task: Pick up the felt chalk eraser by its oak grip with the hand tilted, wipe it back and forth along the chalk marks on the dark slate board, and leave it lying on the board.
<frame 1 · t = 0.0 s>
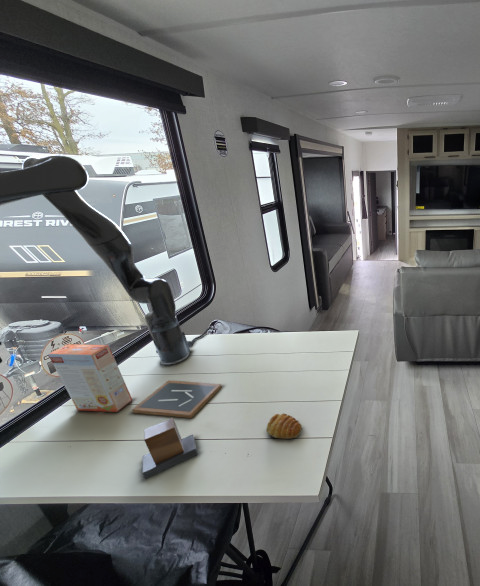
board: (179, 399, 99), on the table
eraser: (171, 457, 79), on the table
cracker box: (106, 405, 98), on the table
pastry: (284, 430, 86), on the table
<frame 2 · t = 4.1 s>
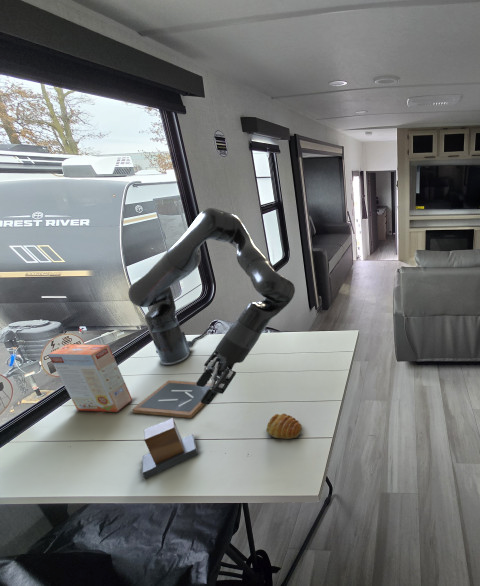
hand: (201, 393, 79), 15 cm above the table, tool tilted 45°, fingers open, 8 cm apart
nothing on the table moved.
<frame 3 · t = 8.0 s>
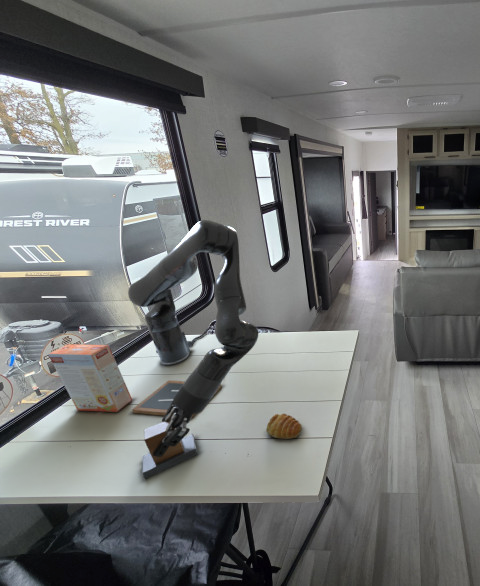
hand: (156, 448, 76), 5 cm above the table, tool tilted 45°, fingers closed on eraser, 4 cm apart
eraser: (171, 457, 79), on the table, touching gripper
everything else where it was.
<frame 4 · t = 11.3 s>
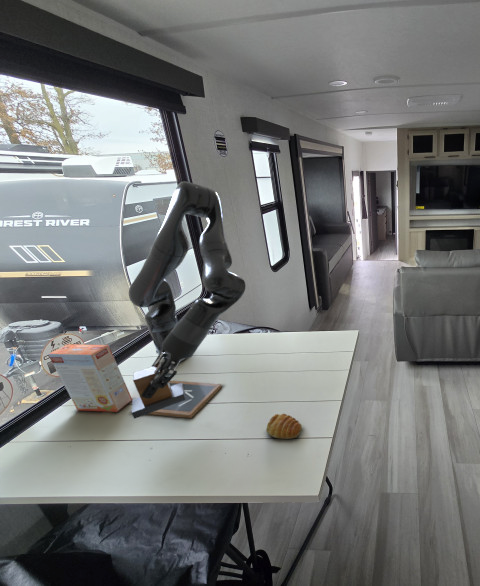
hand: (145, 392, 79), 16 cm above the table, tool tilted 45°, fingers closed on eraser, 4 cm apart
eraser: (160, 402, 82), point 11 cm above the table, touching gripper
everything else where it was.
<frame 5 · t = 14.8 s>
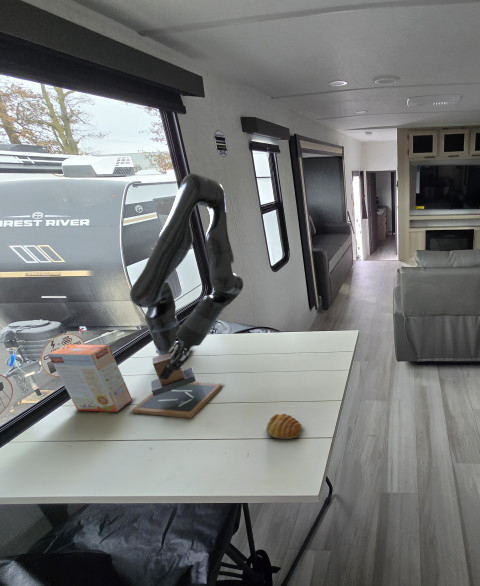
hand: (162, 374, 94), 11 cm above the table, tool tilted 45°, fingers closed on eraser, 4 cm apart
eraser: (174, 383, 97), point 6 cm above the table, touching gripper
everything else where it was.
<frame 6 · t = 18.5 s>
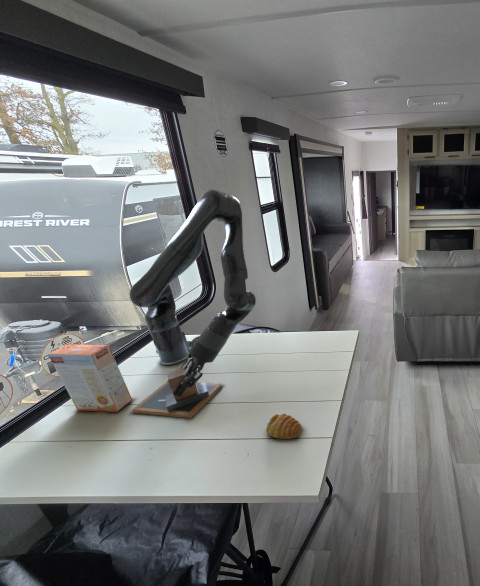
hand: (176, 391, 95), 5 cm above the table, tool tilted 45°, fingers closed on eraser, 4 cm apart
eraser: (188, 398, 98), point 1 cm above the table, touching board, gripper
everything else where it was.
when the fingers open (5 cm above the table, at t = 21.6 s): eraser stays where it is, resting on board.
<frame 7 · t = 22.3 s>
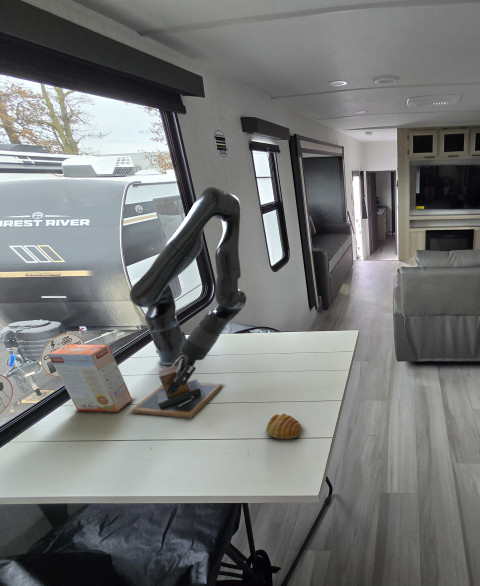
hand: (168, 385, 96), 6 cm above the table, tool tilted 45°, fingers open, 8 cm apart
eraser: (180, 395, 99), point 1 cm above the table, touching board
everything else where it was.
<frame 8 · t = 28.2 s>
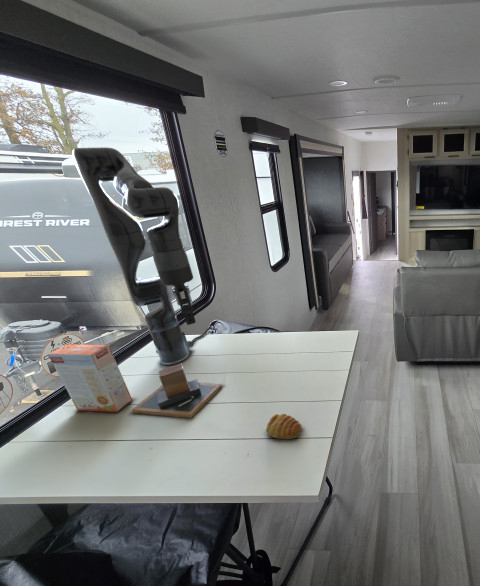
hand: (189, 318, 90), 28 cm above the table, tool pointing down, fingers open, 8 cm apart
nothing on the table moved.
at the end: eraser inside the target area on the board (0.5 cm from its centre), point 1.3 cm above the board's base; eraser tilted 0°; the gripper is holding nothing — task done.
